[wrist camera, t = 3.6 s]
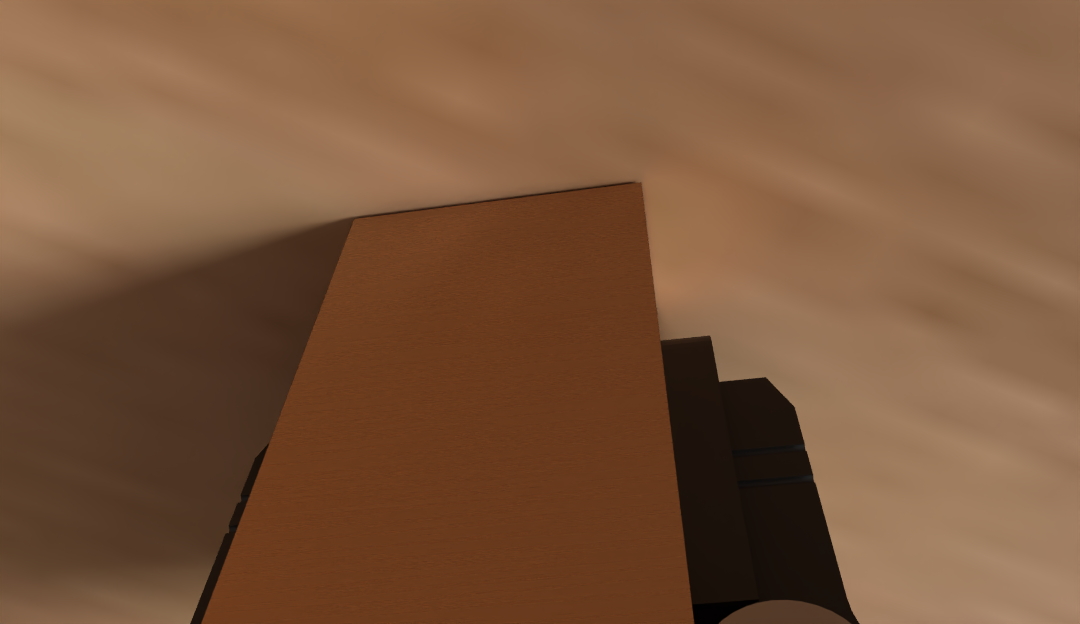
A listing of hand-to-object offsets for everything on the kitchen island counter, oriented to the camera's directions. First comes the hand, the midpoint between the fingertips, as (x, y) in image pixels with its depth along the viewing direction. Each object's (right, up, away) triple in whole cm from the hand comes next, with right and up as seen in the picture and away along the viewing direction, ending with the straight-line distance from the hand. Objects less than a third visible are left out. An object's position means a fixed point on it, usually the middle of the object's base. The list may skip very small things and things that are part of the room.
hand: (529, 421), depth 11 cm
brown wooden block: (0, 0, +1) cm, 1 cm away
